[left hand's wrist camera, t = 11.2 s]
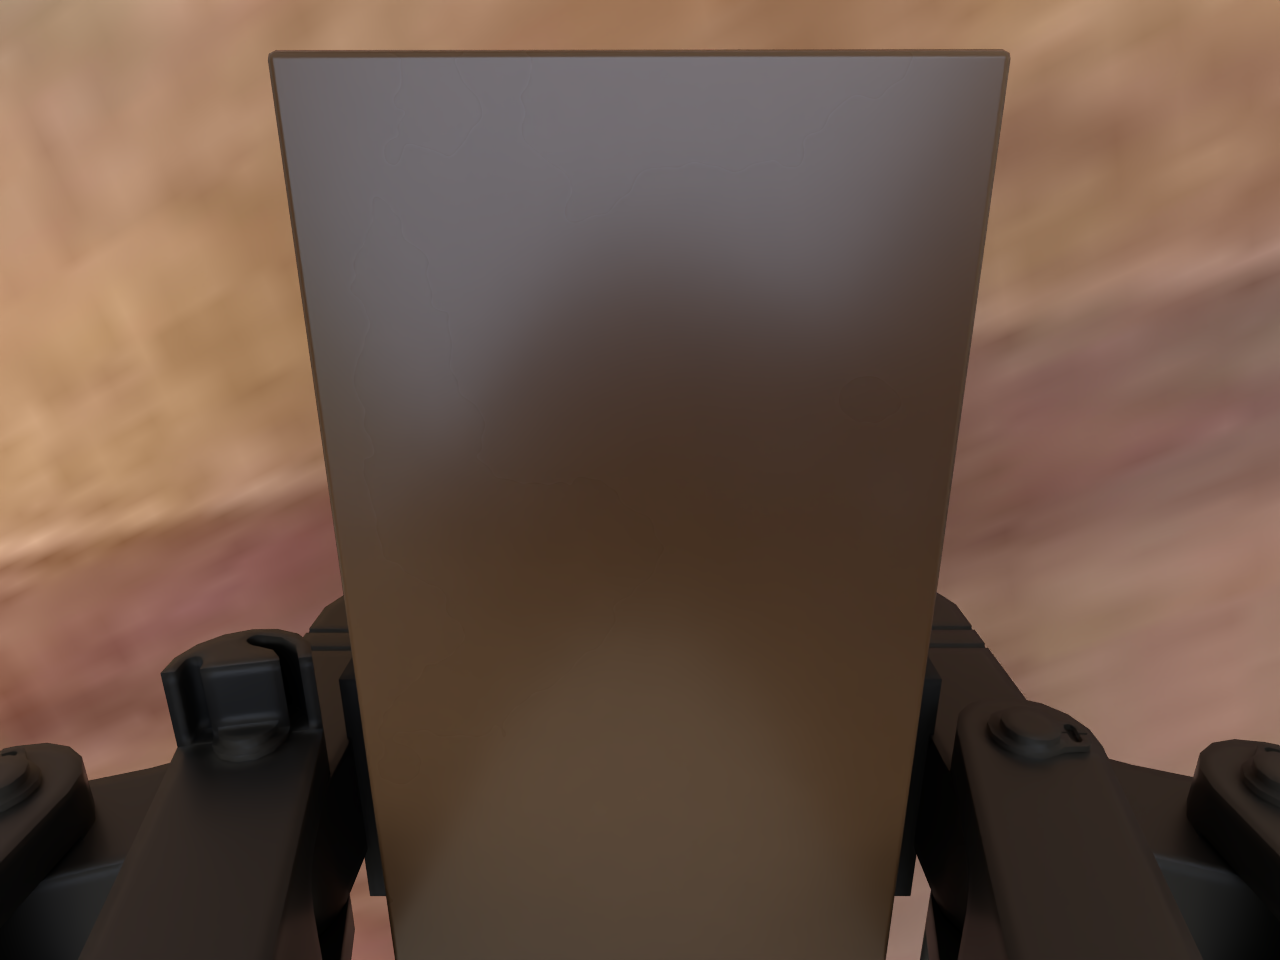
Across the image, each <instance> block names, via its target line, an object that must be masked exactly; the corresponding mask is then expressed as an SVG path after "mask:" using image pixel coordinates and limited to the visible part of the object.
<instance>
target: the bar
mask: <svg viewBox="0 0 1280 960" xmlns="http://www.w3.org/2000/svg"><path fill="white" fill-rule="evenodd" d="M268 63H269V70H270V78H271V85H272V92H273V99H274V106H275V113H276V120H277V127H278V134H279V141H280V148H281V155H282V162H283V170H284V177H285V184H286V191H287V198H288V205H289V212H290V219H291V226H292V233H293V240H294V247H295V254H296V262H297V269H298V276H299V283H300V290H301V297H302V304H303V311H304V318H305V325H306V332H307V339H308V346H309V354H310V361H311V368H312V375H313V382H314V389H315V396H316V403H317V410H318V417H319V424H320V431H321V438H322V445H323V453H324V460H325V467H326V474H327V481H328V488H329V495H330V502H331V509H332V516H333V523H334V530H335V537H336V545H337V552H338V559H339V566H340V573H341V580H342V587H343V594H344V601H345V608H346V615H347V622H348V629H349V637H350V644H351V651H352V658H353V665H354V672H355V679H356V686H357V693H358V700H359V707H360V714H361V721H362V729H363V736H364V743H365V750H366V757H367V764H368V771H369V778H370V785H371V792H372V799H373V806H374V813H375V820H376V828H377V835H378V842H379V849H380V856H381V863H382V870H383V877H384V884H385V891H386V898H387V905H388V912H389V920H390V927H391V934H392V941H393V948H394V955H395V960H886V953H887V946H888V939H889V932H890V924H891V917H892V910H893V903H894V895H895V888H896V881H897V874H898V867H899V859H900V852H901V845H902V838H903V830H904V823H905V816H906V809H907V802H908V794H909V787H910V780H911V773H912V765H913V758H914V751H915V744H916V737H917V729H918V722H919V715H920V708H921V700H922V693H923V686H924V679H925V672H926V664H927V657H928V650H929V643H930V635H931V628H932V621H933V614H934V607H935V599H936V592H937V585H938V578H939V570H940V563H941V556H942V549H943V542H944V534H945V527H946V520H947V513H948V505H949V498H950V491H951V484H952V477H953V469H954V462H955V455H956V448H957V440H958V433H959V426H960V419H961V412H962V404H963V397H964V390H965V383H966V375H967V368H968V361H969V354H970V347H971V339H972V332H973V325H974V318H975V310H976V303H977V296H978V289H979V282H980V274H981V267H982V260H983V253H984V245H985V238H986V231H987V224H988V217H989V209H990V202H991V195H992V188H993V180H994V173H995V166H996V159H997V152H998V144H999V137H1000V130H1001V123H1002V115H1003V108H1004V101H1005V94H1006V87H1007V79H1008V72H1009V65H1010V53H1009V52H1007V51H1005V50H1003V49H904V50H275V51H273V52H271V53H269V56H268Z"/></svg>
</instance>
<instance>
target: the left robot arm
mask: <svg viewBox="0 0 1280 960" xmlns="http://www.w3.org/2000/svg"><path fill="white" fill-rule="evenodd" d="M161 677H162V682H163V686H164V690H165V695H166V699H167V703H168V707H169V712H170V716H171V720H172V725H173V729H174V733H175V738H176V742H177V746H178V748H177V750H176V752H175V754H174V756H173V758H172V760H171V763H168V764H164V765H160V766H157V767H153V768H149V769H144V770H139V771H134V772H129V773H124V774H119V775H114V776H109V777H104V778H99V779H95V780H90V781H88V777H87V774H86V770H85V767H84V763H83V759H82V757H81V756H80V755H79V754H78V753H77V752H75V751H74V750H73V749H72V748H71V747H69V746H63V745H57V744H51V743H41V744H32V745H22V746H14V747H10V748H5V749H3V750H2V751H0V960H351V957H352V948H353V940H354V932H355V927H354V920H353V912H352V906H351V900H350V892H351V889H352V887H353V884H354V882H355V879H356V877H357V874H358V872H359V870H360V867H361V865H362V862H363V860H364V857H365V864H366V870H367V877H368V884H369V891H370V896H386V891H385V884H384V877H383V870H382V863H381V856H380V849H379V842H378V835H377V828H376V820H375V813H374V806H373V799H372V792H371V785H370V778H369V771H368V764H367V757H366V750H365V743H364V736H363V729H362V721H361V714H360V707H359V700H358V693H357V686H356V679H355V672H354V665H353V658H352V651H351V644H350V637H349V629H348V622H347V615H346V608H345V601H344V596H342V597H340V598H339V599H337V600H336V601H334V602H333V603H331V604H330V605H328V606H326V607H325V608H324V610H323V611H322V612H321V614H320V615H319V616H318V618H317V619H316V620H315V622H314V623H313V625H312V626H311V627H310V631H309V633H306V634H305V635H304V637H302V636H300V635H299V634H297V633H292V632H288V631H284V630H280V629H252V630H247V631H242V632H236V633H231V634H226V635H222V636H220V637H217V638H214V639H211V640H209V641H206V642H203V643H200V644H198V645H196V646H194V647H192V648H191V649H189V650H187V651H186V652H184V653H182V654H181V655H179V656H177V657H176V658H174V659H173V660H172V661H171V663H170V664H169V665H168V666H167V667H166V668H165V669H164V670H163V671H162V672H161ZM916 854H917V857H918V859H919V861H920V864H921V866H922V869H923V871H924V874H925V876H926V879H927V881H928V883H929V886H930V888H931V893H930V900H929V906H928V912H927V919H926V925H925V931H924V938H923V944H922V950H921V957H920V960H1280V746H1279V745H1276V744H1271V743H1266V742H1257V741H1247V740H1237V739H1233V740H1227V741H1221V742H1215V743H1212V744H1210V745H1209V746H1208V747H1207V748H1206V749H1204V750H1203V751H1202V752H1201V753H1200V755H1199V759H1198V762H1197V766H1196V769H1195V773H1194V776H1193V777H1190V776H1185V775H1180V774H1175V773H1170V772H1165V771H1160V770H1155V769H1150V768H1145V767H1140V766H1135V765H1130V764H1127V763H1123V762H1119V761H1115V760H1112V759H1108V757H1107V755H1106V753H1105V751H1104V748H1103V746H1102V745H1101V744H1100V742H1099V741H1098V740H1097V739H1096V737H1095V736H1094V735H1093V734H1092V732H1091V731H1090V730H1089V729H1088V728H1087V727H1085V726H1084V725H1082V724H1081V723H1079V722H1078V721H1076V720H1075V719H1074V718H1072V717H1071V716H1069V715H1068V714H1065V713H1063V712H1061V711H1058V710H1056V709H1054V708H1051V707H1049V706H1046V705H1044V704H1041V703H1037V702H1032V701H1028V700H1026V699H1025V697H1024V696H1023V695H1022V693H1021V692H1020V690H1019V689H1018V688H1017V686H1016V685H1015V684H1014V682H1013V681H1012V680H1011V678H1010V677H1009V676H1008V674H1007V673H1006V672H1005V670H1004V669H1003V668H1002V666H1001V665H1000V663H999V662H998V661H997V659H996V658H995V657H994V655H993V654H992V653H991V651H990V650H989V649H988V648H985V643H984V642H983V641H982V639H981V638H980V636H979V635H978V634H977V632H976V631H975V630H972V626H971V624H970V623H969V622H968V620H967V619H966V618H965V616H964V615H963V614H962V612H961V611H960V609H959V608H958V607H957V605H956V604H954V603H953V602H951V601H949V600H948V599H946V598H945V597H943V596H942V595H940V594H939V593H937V592H936V599H935V607H934V614H933V621H932V628H931V635H930V643H929V650H928V657H927V664H926V672H925V679H924V686H923V693H922V700H921V708H920V715H919V722H918V729H917V737H916V744H915V751H914V758H913V765H912V773H911V780H910V787H909V794H908V802H907V809H906V816H905V823H904V830H903V838H902V845H901V852H900V859H899V867H898V874H897V881H896V888H895V895H894V896H910V895H911V888H912V881H913V874H914V868H915V861H916Z"/></svg>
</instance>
